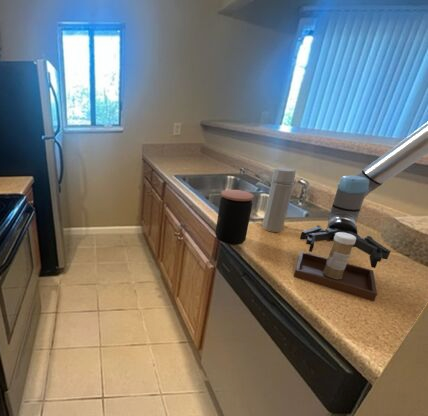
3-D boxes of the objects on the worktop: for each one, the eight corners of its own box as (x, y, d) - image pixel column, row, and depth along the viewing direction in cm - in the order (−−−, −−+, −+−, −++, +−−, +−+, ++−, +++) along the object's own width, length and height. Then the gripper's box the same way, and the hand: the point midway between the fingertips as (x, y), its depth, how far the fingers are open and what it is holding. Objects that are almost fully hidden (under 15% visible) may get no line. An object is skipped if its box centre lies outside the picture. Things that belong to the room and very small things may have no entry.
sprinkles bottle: (324, 269, 84) (337, 230, 79) (343, 275, 81) (358, 235, 76) (321, 275, 81) (334, 235, 76) (340, 282, 78) (355, 240, 73)
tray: (370, 277, 81) (373, 270, 80) (374, 301, 71) (377, 294, 70) (299, 257, 91) (300, 251, 91) (293, 276, 82) (295, 269, 81)
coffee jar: (224, 230, 112) (231, 187, 105) (250, 239, 104) (259, 194, 97) (209, 237, 106) (215, 193, 100) (235, 248, 98) (244, 200, 91)
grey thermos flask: (262, 223, 117) (274, 166, 108) (284, 228, 112) (298, 168, 103) (258, 231, 110) (271, 170, 101) (281, 236, 106) (297, 173, 97)
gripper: (390, 250, 85) (400, 283, 70) (294, 229, 100) (285, 252, 85) (399, 228, 82) (411, 257, 67) (299, 210, 97) (291, 230, 82)
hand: (341, 255), depth 76 cm, fingers open, 13 cm apart
